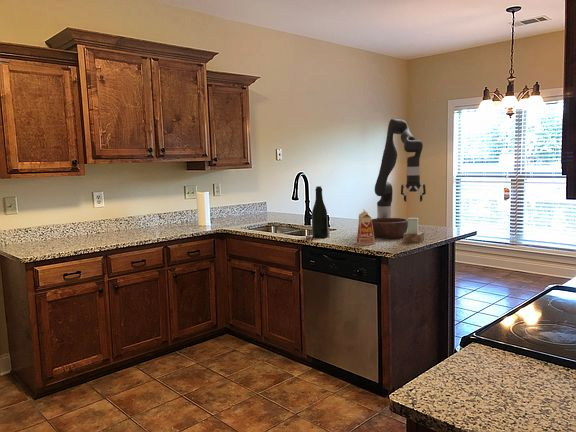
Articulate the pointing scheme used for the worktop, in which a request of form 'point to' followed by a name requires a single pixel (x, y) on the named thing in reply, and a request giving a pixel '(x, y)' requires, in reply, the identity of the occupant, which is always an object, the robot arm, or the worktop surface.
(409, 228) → the canister
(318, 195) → the beer bottle
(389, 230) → the wooden bowl
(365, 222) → the milk carton
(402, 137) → the robot arm
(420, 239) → the walnut block
